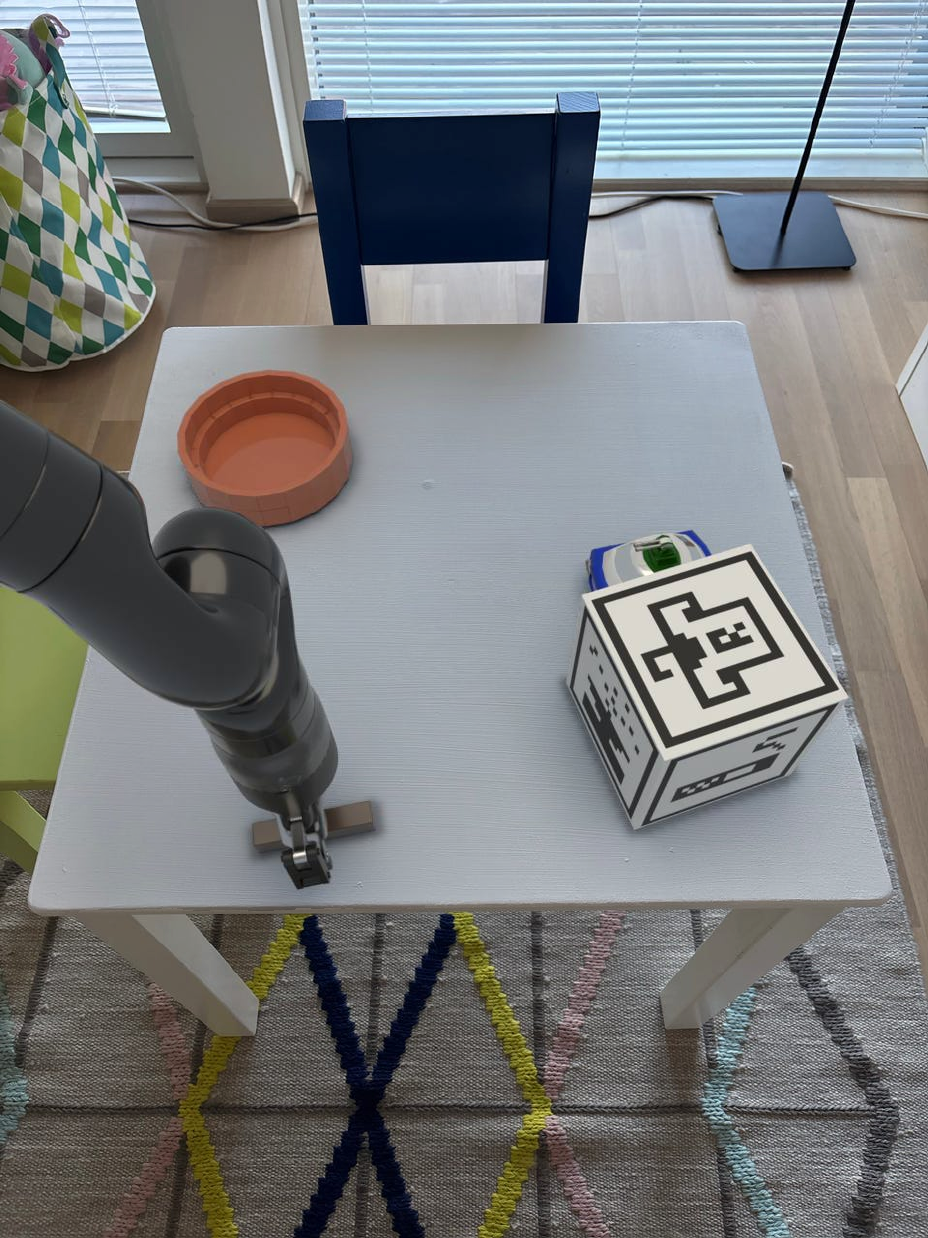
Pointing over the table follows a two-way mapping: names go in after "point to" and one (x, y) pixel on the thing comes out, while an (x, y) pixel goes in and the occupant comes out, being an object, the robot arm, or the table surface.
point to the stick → (338, 821)
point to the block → (698, 684)
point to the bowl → (266, 446)
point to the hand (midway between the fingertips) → (313, 818)
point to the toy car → (642, 557)
